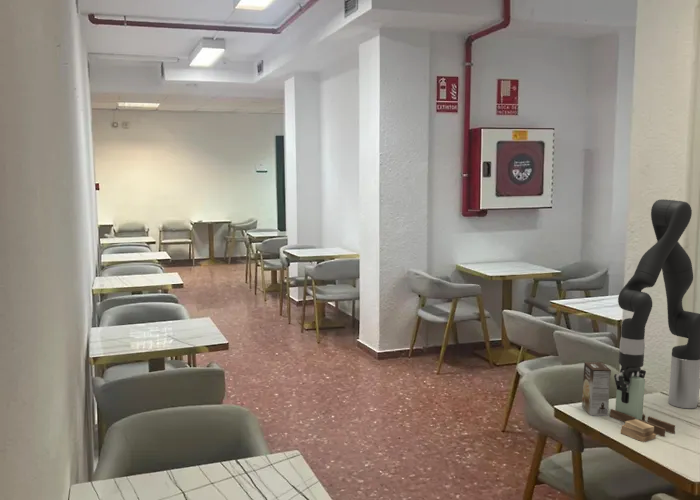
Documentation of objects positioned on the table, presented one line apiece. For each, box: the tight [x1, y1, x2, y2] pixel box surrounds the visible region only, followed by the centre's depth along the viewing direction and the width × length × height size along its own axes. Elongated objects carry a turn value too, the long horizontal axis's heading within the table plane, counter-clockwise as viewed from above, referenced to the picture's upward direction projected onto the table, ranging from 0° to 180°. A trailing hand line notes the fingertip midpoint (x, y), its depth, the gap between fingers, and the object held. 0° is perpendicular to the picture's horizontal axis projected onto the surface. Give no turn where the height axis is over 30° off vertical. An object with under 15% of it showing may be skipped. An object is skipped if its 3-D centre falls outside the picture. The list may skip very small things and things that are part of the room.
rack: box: [609, 408, 676, 438], centre depth 216 cm, size 6×20×2 cm, turn 31°
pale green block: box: [614, 372, 646, 420], centre depth 219 cm, size 3×8×14 cm, turn 31°
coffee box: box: [581, 361, 612, 417], centre depth 227 cm, size 9×6×16 cm
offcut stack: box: [620, 419, 657, 443], centre depth 206 cm, size 6×8×4 cm
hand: (628, 401), depth 220 cm, fingers closed on pale green block, 3 cm apart
